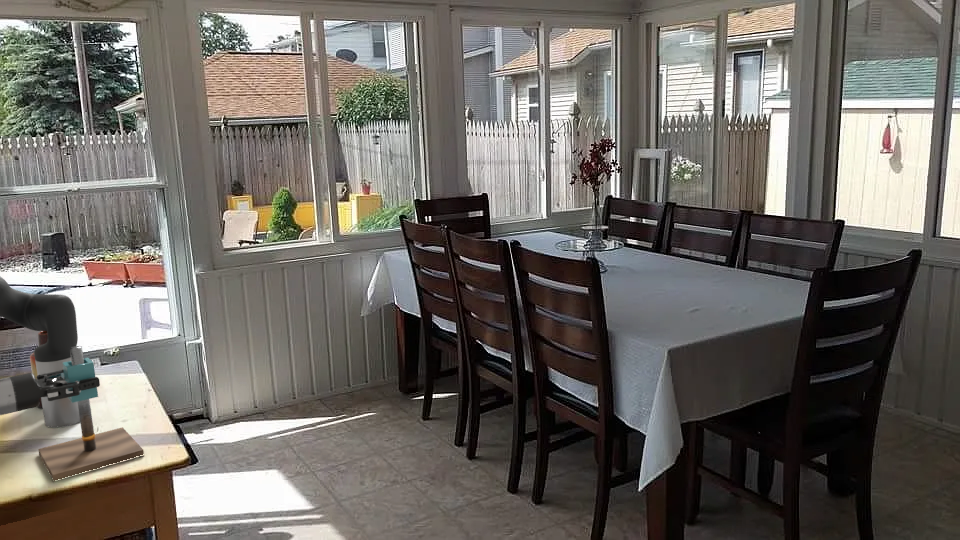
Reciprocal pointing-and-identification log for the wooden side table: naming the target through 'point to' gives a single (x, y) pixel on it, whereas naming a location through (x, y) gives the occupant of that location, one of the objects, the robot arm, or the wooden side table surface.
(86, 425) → the pipe
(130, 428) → the wooden side table surface
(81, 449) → the stand board
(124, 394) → the wooden side table surface
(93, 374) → the sleeve
